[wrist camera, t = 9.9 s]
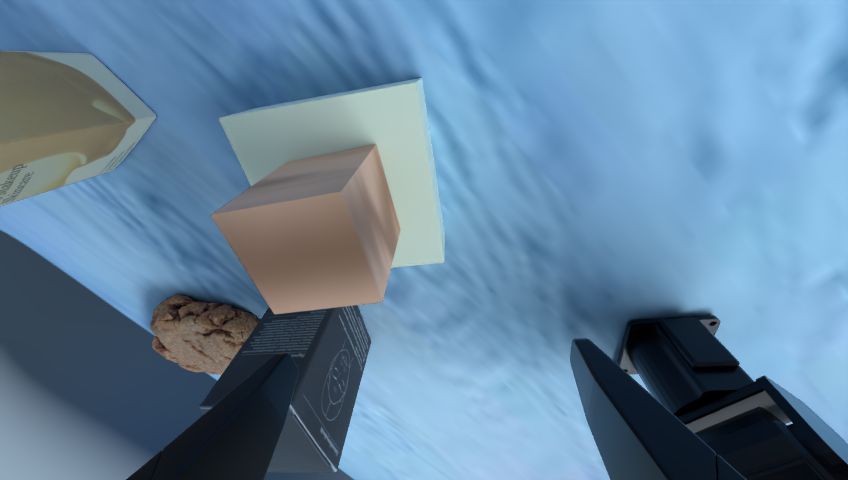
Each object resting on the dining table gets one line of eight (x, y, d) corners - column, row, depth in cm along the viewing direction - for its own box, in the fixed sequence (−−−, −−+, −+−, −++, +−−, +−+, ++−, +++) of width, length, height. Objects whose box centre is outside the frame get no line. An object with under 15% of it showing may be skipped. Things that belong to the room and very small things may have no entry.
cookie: (292, 351, 30) (277, 378, 28) (210, 368, 33) (190, 395, 30) (228, 276, 26) (204, 300, 23) (138, 302, 28) (107, 327, 25)
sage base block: (444, 230, 22) (444, 262, 19) (316, 244, 23) (294, 276, 20) (422, 77, 17) (416, 82, 14) (260, 106, 18) (218, 118, 15)
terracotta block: (400, 229, 18) (382, 302, 12) (321, 241, 18) (274, 314, 13) (376, 144, 15) (340, 191, 10) (285, 162, 16) (210, 215, 11)
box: (284, 282, 25) (193, 409, 16) (349, 276, 24) (291, 406, 15) (316, 346, 29) (257, 476, 20) (373, 342, 28) (338, 476, 19)
